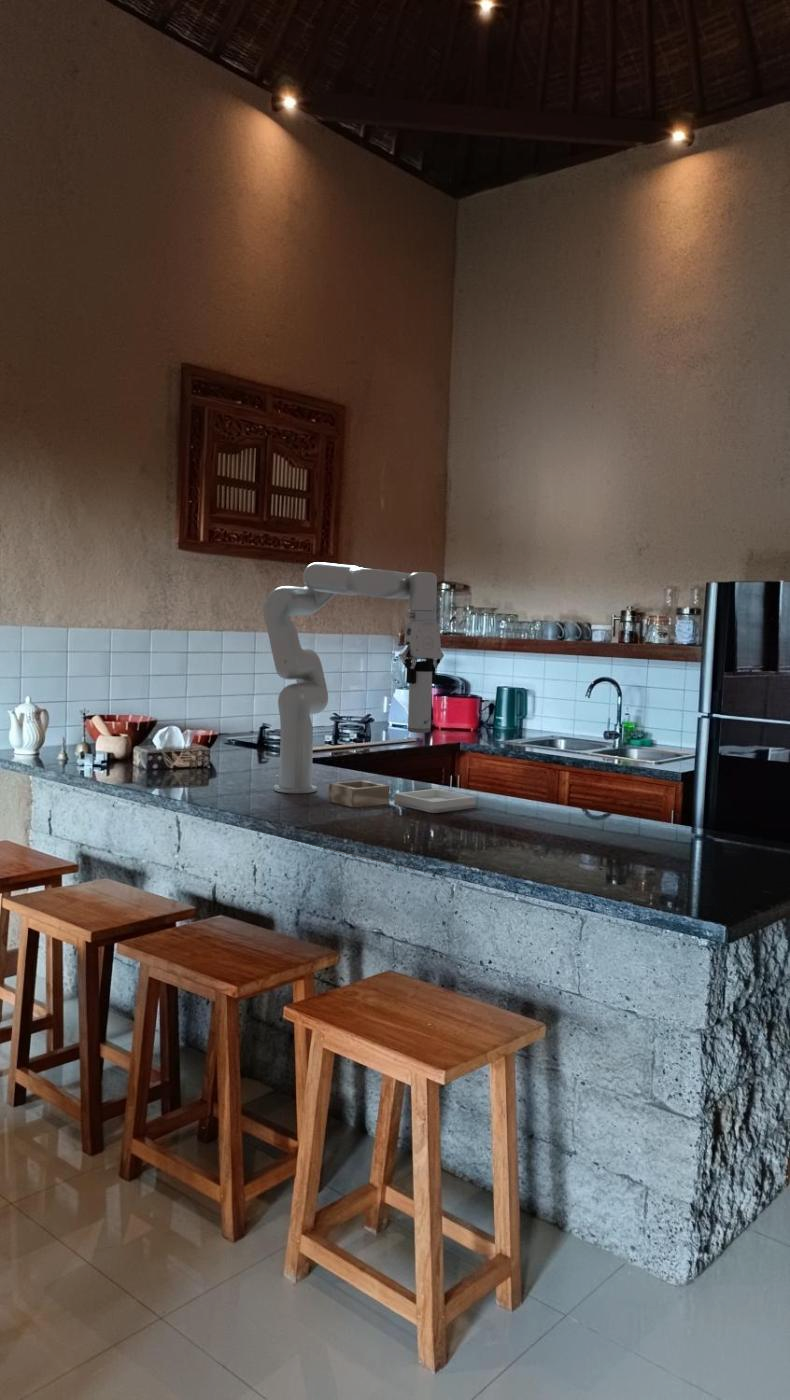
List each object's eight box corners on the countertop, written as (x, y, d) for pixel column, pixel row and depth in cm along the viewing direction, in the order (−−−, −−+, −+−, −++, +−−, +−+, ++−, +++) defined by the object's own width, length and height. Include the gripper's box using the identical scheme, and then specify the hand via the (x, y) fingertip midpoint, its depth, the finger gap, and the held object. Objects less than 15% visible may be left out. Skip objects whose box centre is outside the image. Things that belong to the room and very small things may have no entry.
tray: (393, 803, 283) (394, 793, 283) (436, 798, 293) (436, 788, 293) (432, 813, 271) (433, 802, 271) (475, 807, 281) (475, 796, 281)
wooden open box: (328, 800, 284) (329, 783, 284) (362, 797, 292) (362, 780, 292) (355, 807, 275) (355, 789, 275) (388, 803, 283) (389, 785, 283)
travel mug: (431, 733, 278) (433, 659, 276) (407, 732, 278) (409, 659, 277) (431, 730, 284) (433, 659, 283) (408, 730, 284) (410, 658, 283)
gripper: (407, 616, 270) (405, 684, 272) (454, 618, 281) (453, 683, 283) (389, 616, 276) (388, 682, 277) (436, 618, 287) (435, 681, 288)
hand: (420, 682), depth 280 cm, fingers closed on travel mug, 6 cm apart
